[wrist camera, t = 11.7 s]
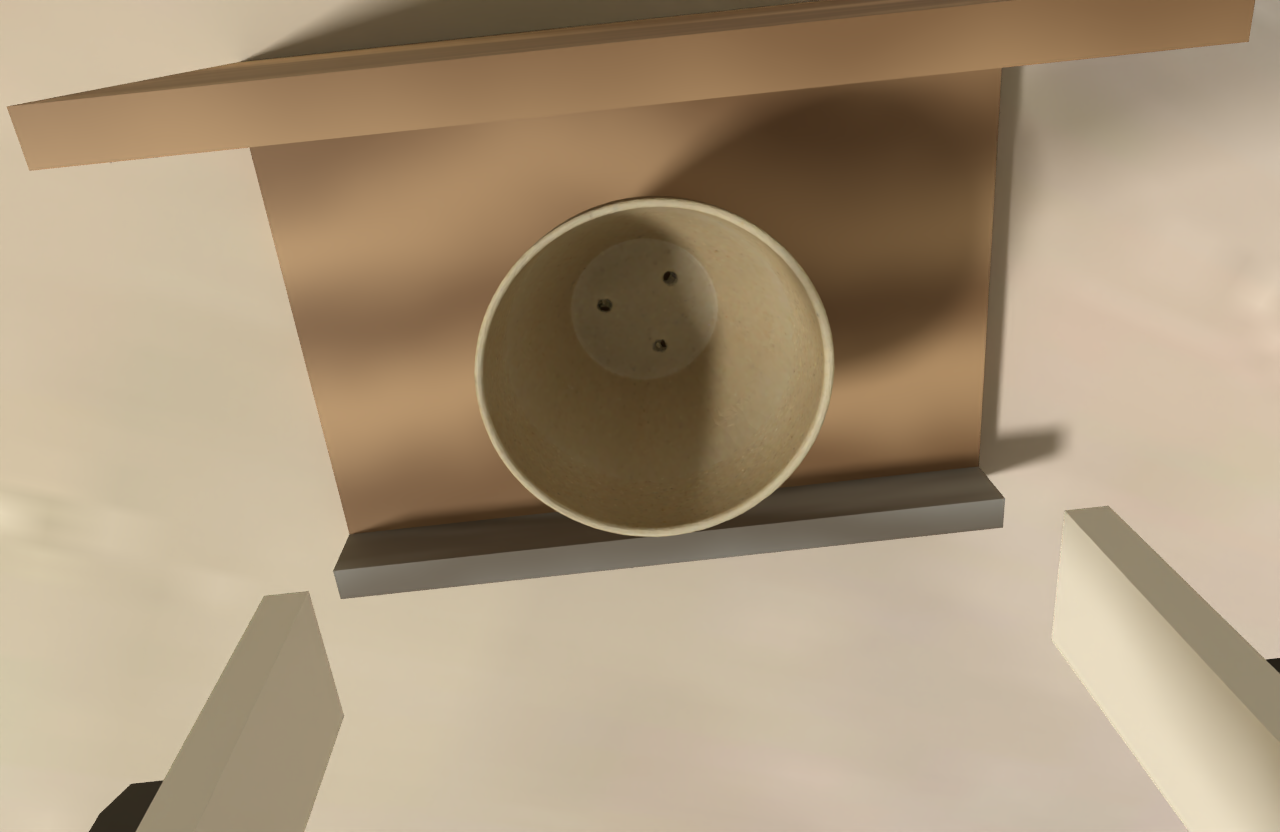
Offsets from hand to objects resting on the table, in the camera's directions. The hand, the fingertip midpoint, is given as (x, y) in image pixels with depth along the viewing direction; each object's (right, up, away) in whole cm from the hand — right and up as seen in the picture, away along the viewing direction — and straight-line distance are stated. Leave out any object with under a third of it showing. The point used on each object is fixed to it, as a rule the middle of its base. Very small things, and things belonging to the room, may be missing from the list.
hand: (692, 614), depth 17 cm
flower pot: (-1, +7, +16) cm, 18 cm away
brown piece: (-1, +8, +17) cm, 19 cm away
